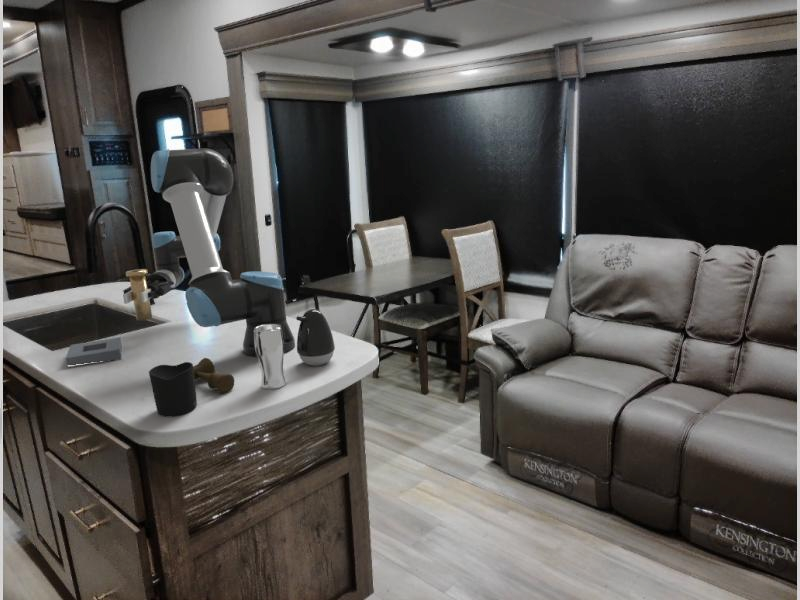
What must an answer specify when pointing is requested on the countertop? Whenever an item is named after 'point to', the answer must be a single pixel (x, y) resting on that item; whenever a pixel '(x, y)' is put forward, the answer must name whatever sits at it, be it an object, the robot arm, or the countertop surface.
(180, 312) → the countertop surface
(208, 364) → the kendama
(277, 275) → the robot arm
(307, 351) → the pump dispenser
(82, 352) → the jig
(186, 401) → the pen holder
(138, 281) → the bushing
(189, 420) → the countertop surface
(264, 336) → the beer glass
